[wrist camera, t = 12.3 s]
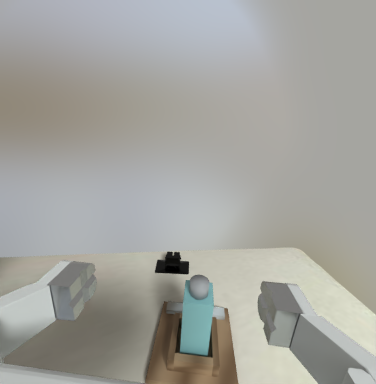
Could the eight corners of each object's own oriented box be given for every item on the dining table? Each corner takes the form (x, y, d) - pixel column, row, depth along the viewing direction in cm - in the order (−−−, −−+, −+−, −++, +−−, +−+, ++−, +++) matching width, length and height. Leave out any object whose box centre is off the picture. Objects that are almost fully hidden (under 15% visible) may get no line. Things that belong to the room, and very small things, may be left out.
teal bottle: (179, 359, 31) (183, 291, 27) (182, 332, 36) (186, 270, 31) (206, 362, 31) (215, 295, 27) (206, 335, 35) (213, 273, 31)
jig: (145, 384, 29) (145, 368, 28) (164, 305, 42) (164, 292, 41) (238, 397, 28) (241, 381, 27) (227, 312, 41) (229, 299, 40)
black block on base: (193, 261, 58) (194, 249, 57) (194, 279, 51) (195, 265, 50) (153, 259, 58) (153, 246, 57) (148, 276, 51) (148, 262, 50)
